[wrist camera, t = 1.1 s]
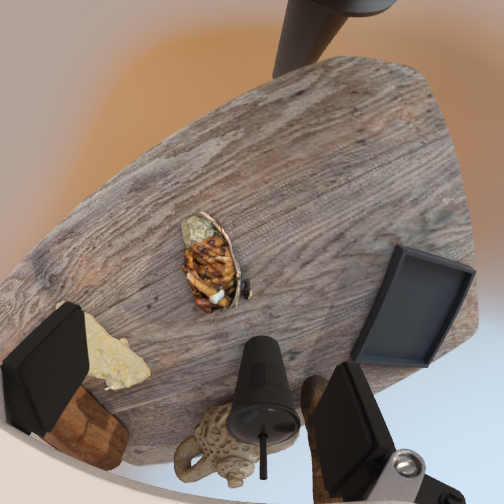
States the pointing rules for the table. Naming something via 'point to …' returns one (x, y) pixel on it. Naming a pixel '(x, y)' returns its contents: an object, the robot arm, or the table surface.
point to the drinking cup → (262, 400)
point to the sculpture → (309, 401)
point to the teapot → (219, 451)
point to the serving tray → (413, 309)
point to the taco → (211, 264)
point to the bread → (89, 433)
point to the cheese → (112, 357)
